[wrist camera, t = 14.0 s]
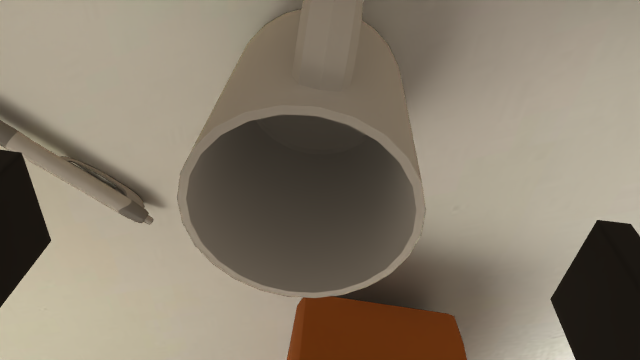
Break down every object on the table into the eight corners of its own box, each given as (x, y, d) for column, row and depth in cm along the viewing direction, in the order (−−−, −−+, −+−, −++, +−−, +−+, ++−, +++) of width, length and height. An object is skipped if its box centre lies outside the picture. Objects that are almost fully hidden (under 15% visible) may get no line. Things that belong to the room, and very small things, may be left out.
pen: (153, 216, 26) (144, 233, 25) (-118, 55, 21) (-144, 67, 20) (162, 206, 26) (153, 223, 24) (-113, 38, 21) (-140, 50, 20)
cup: (235, 142, 23) (180, 281, 16) (245, -90, 17) (166, -39, 10) (380, 164, 23) (392, 311, 16) (440, -57, 17) (502, 18, 10)
